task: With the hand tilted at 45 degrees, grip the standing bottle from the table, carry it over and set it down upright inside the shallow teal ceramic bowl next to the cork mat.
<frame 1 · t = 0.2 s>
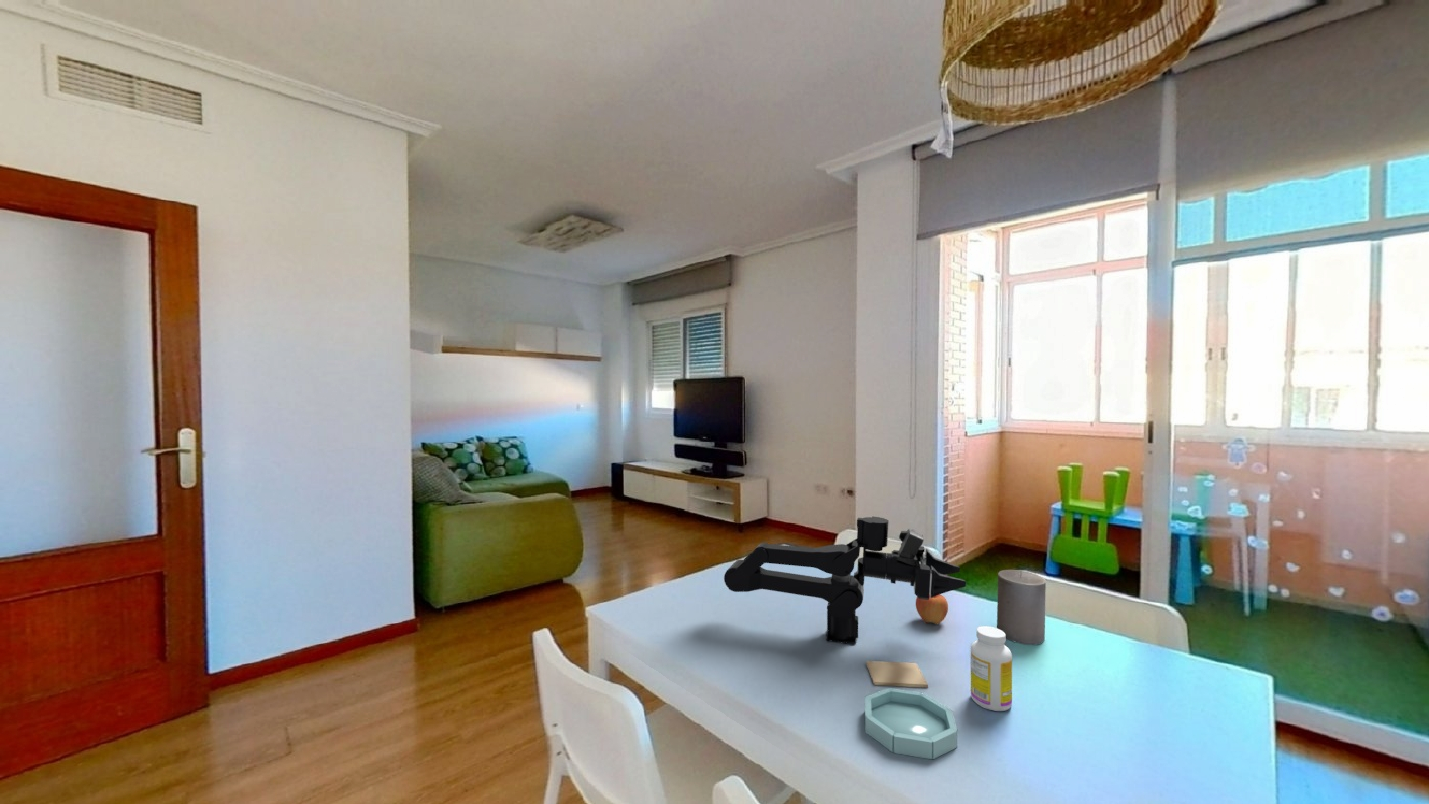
hand: (962, 576, 113), 17 cm above the table, tool horizontal, fingers open, 9 cm apart
apple: (931, 623, 129), on the table
cork mat: (895, 675, 105), on the table
supplement bottle: (990, 703, 96), on the table
bowl: (908, 728, 88), on the table
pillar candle: (1020, 636, 122), on the table
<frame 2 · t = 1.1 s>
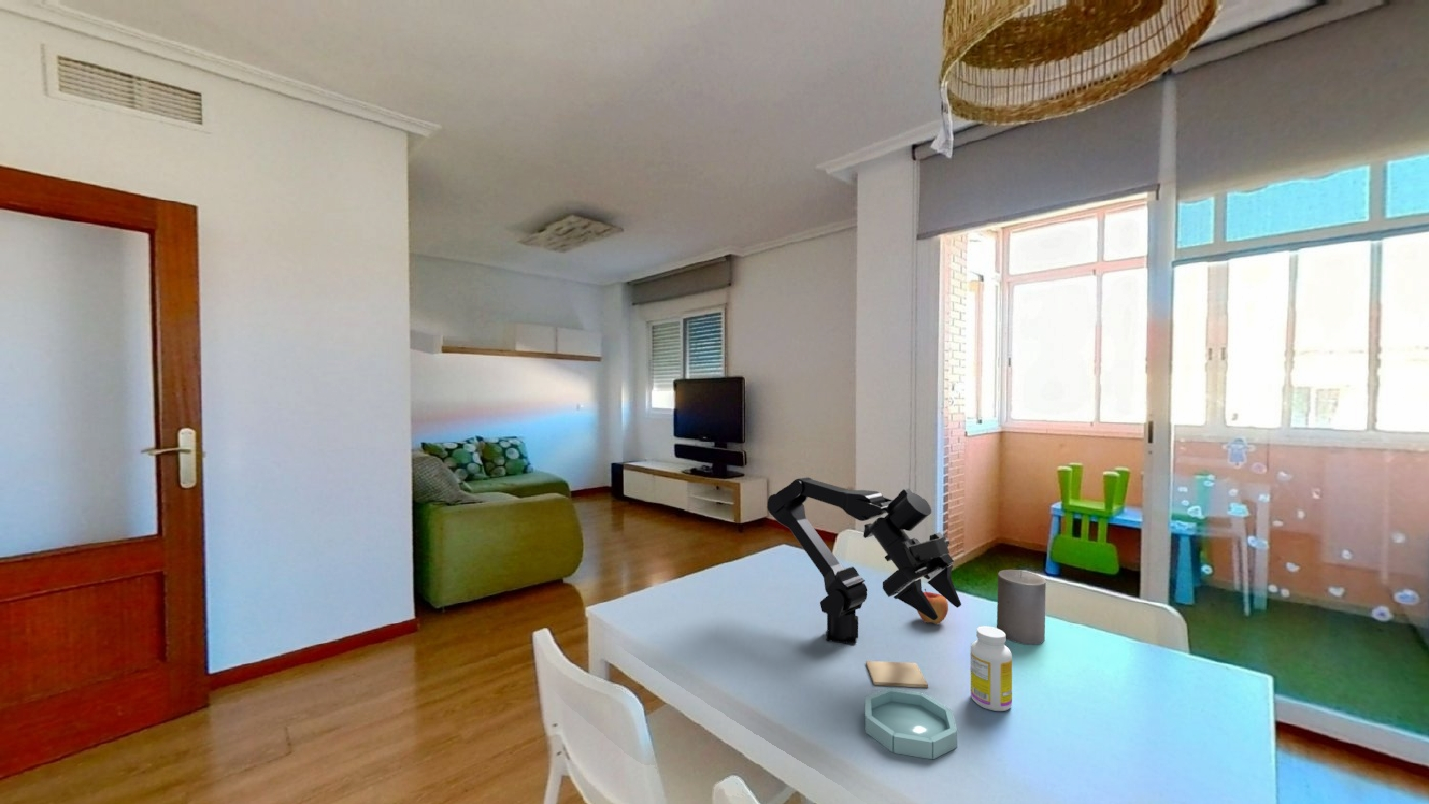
hand: (948, 612, 102), 14 cm above the table, tool tilted 45°, fingers open, 9 cm apart
nothing on the table moved.
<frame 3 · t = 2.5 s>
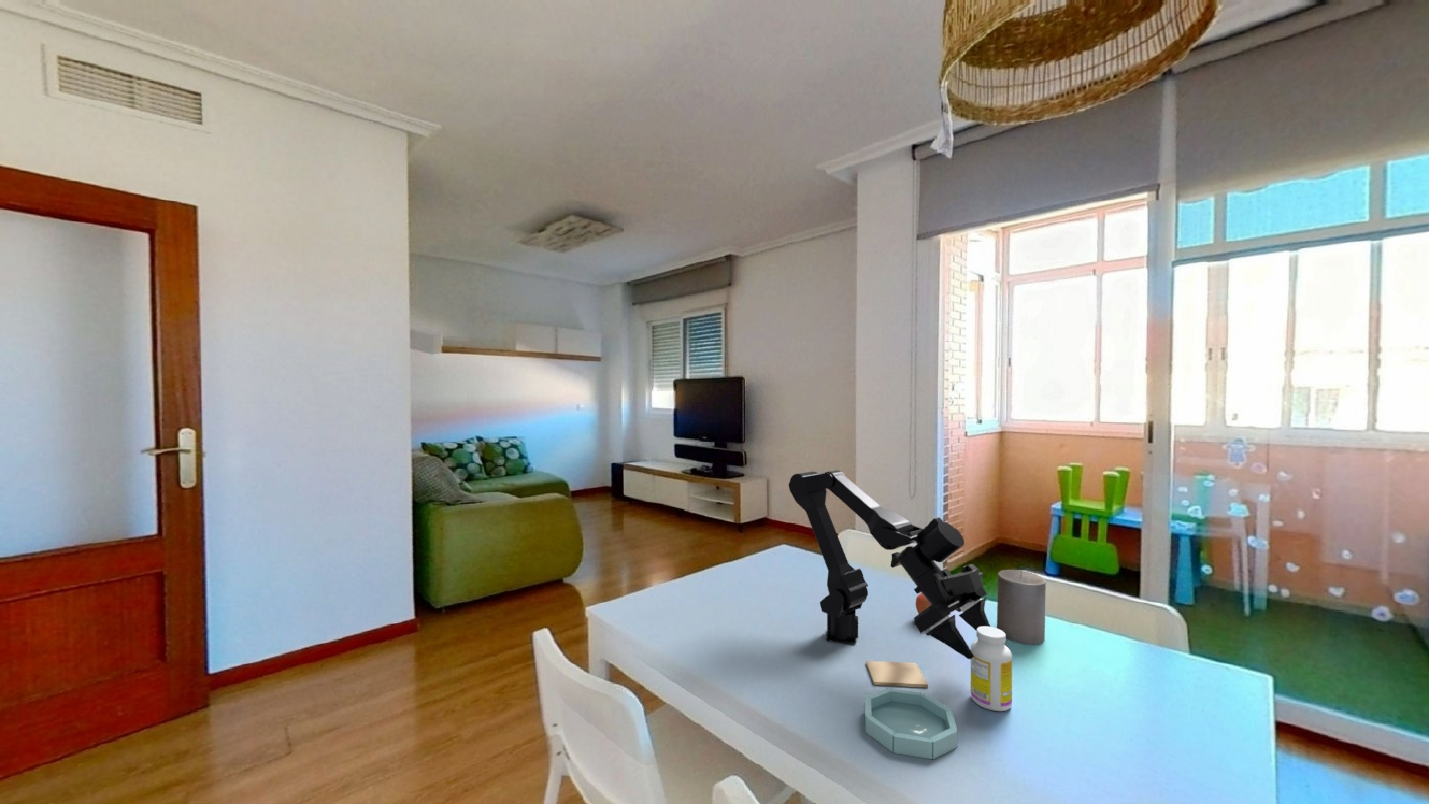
hand: (983, 650, 97), 9 cm above the table, tool tilted 45°, fingers open, 9 cm apart
nothing on the table moved.
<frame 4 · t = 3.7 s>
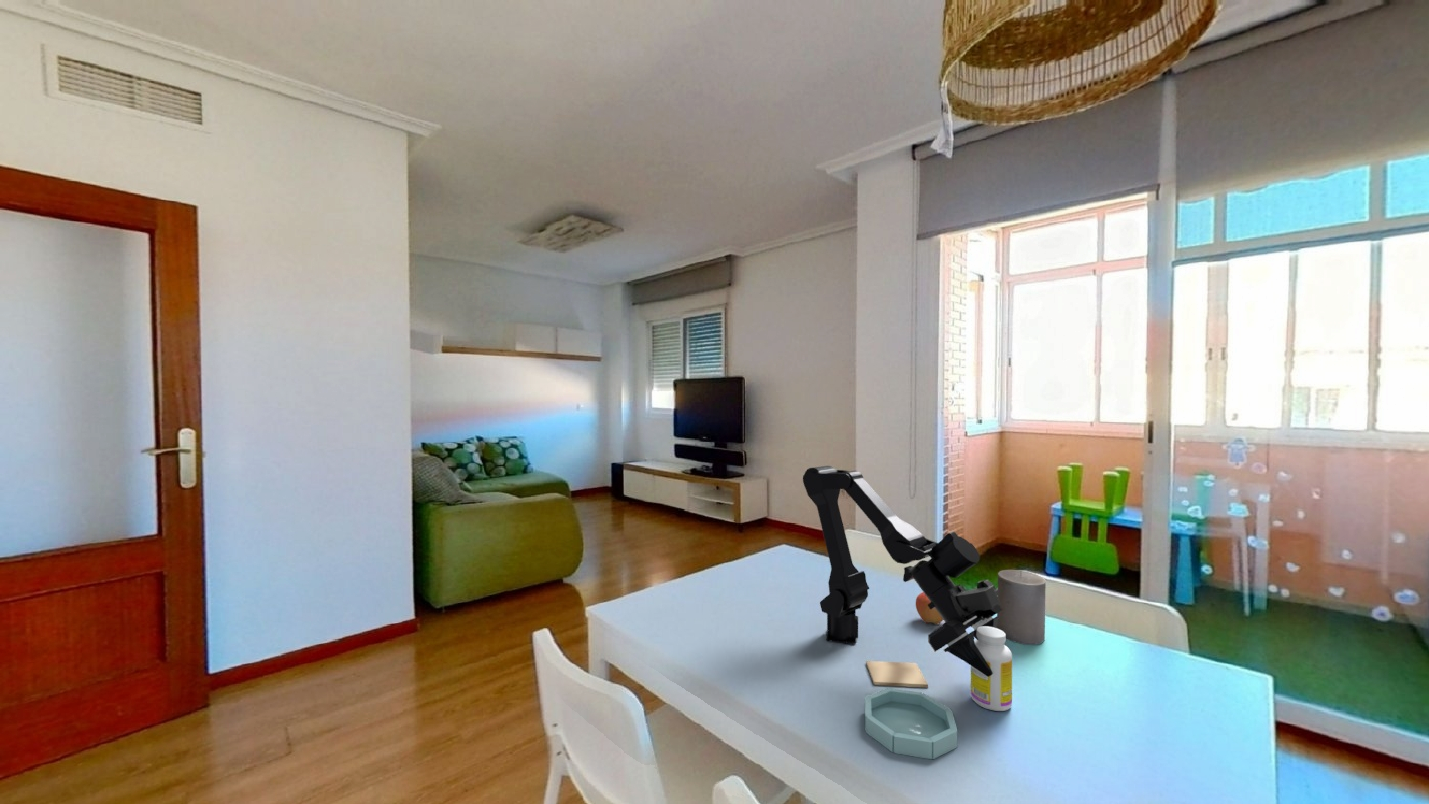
hand: (999, 668, 94), 7 cm above the table, tool tilted 45°, fingers closed on supplement bottle, 7 cm apart
supplement bottle: (990, 703, 96), on the table, touching gripper
everything else where it was.
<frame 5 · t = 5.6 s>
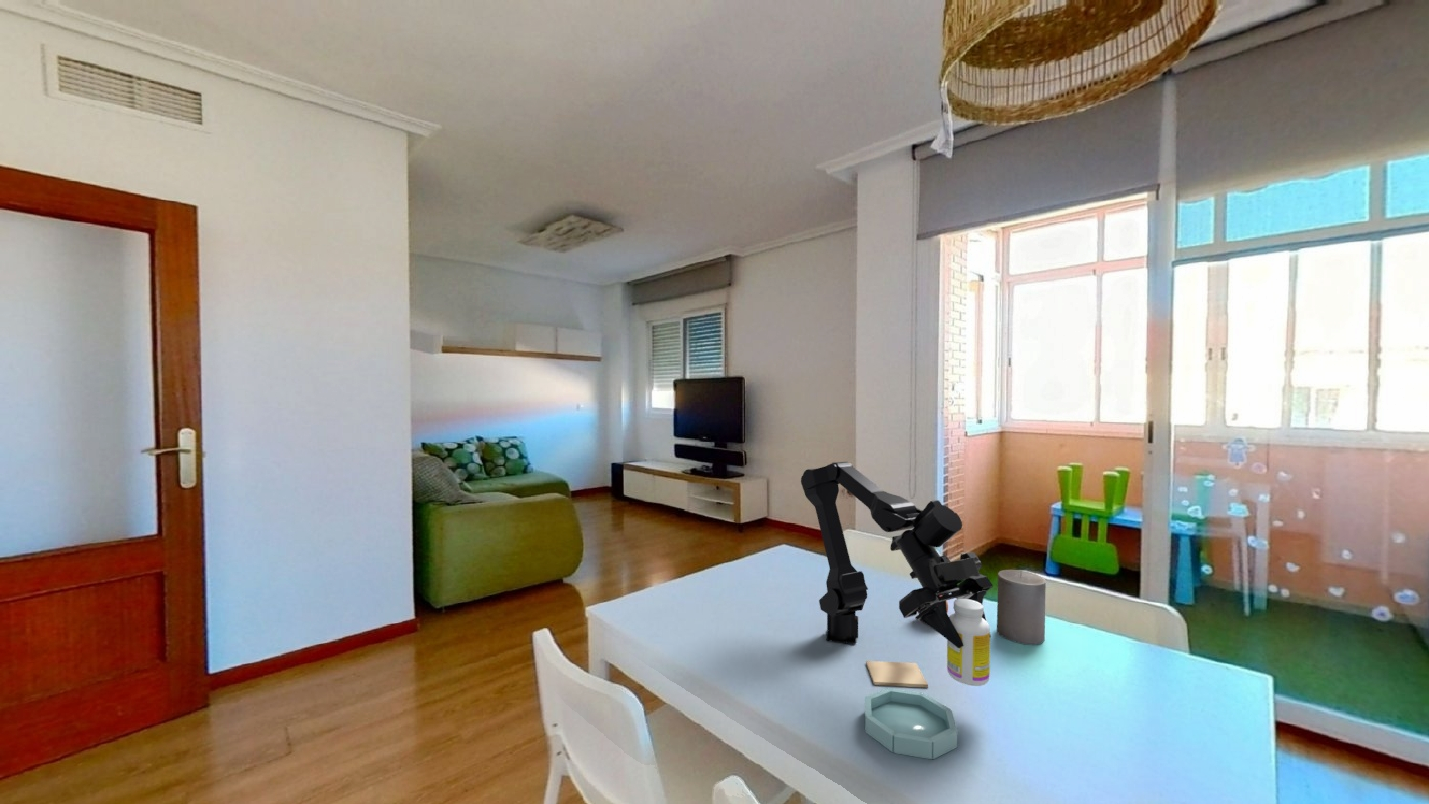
hand: (975, 642, 90), 13 cm above the table, tool tilted 45°, fingers closed on supplement bottle, 7 cm apart
supplement bottle: (967, 678, 92), point 6 cm above the table, touching gripper
everything else where it was.
when the fingers open (9 cm above the table, at t = 7.6 s): supplement bottle drops 1 cm, resting on bowl.
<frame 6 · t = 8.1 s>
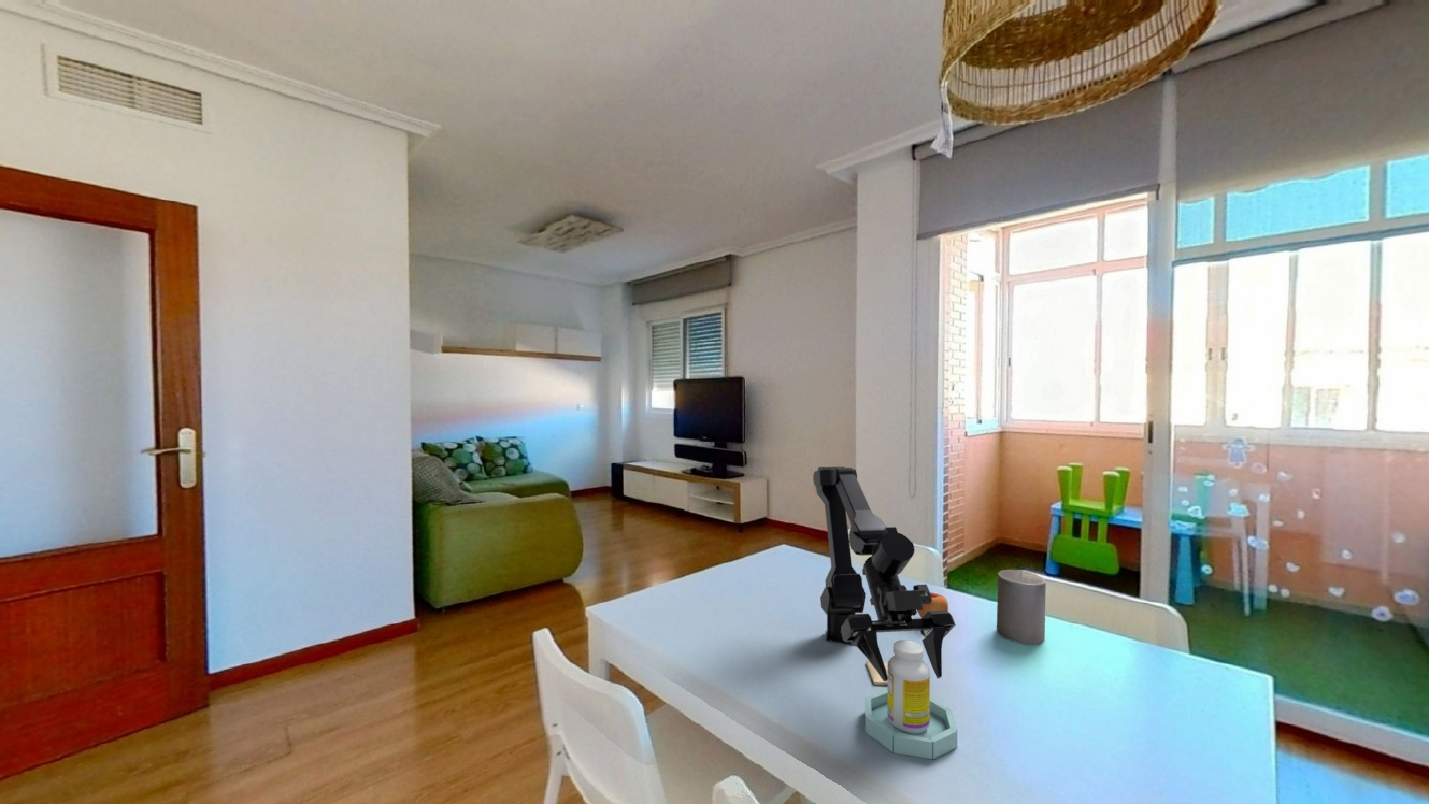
hand: (913, 678, 87), 9 cm above the table, tool tilted 45°, fingers open, 9 cm apart
supplement bottle: (908, 724, 88), point 1 cm above the table, touching bowl
everything else where it was.
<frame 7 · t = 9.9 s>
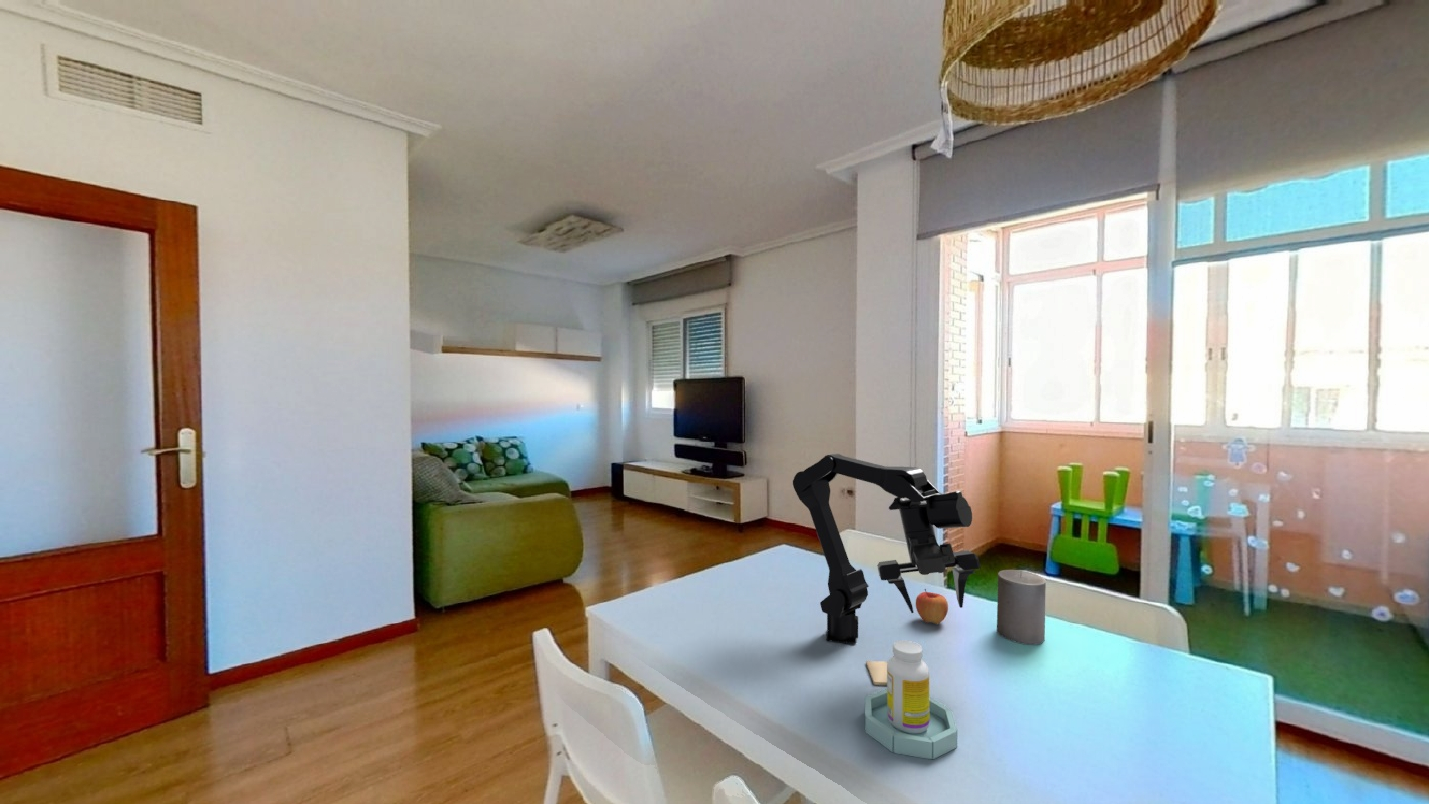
hand: (936, 609, 104), 13 cm above the table, tool pointing down, fingers open, 9 cm apart
nothing on the table moved.
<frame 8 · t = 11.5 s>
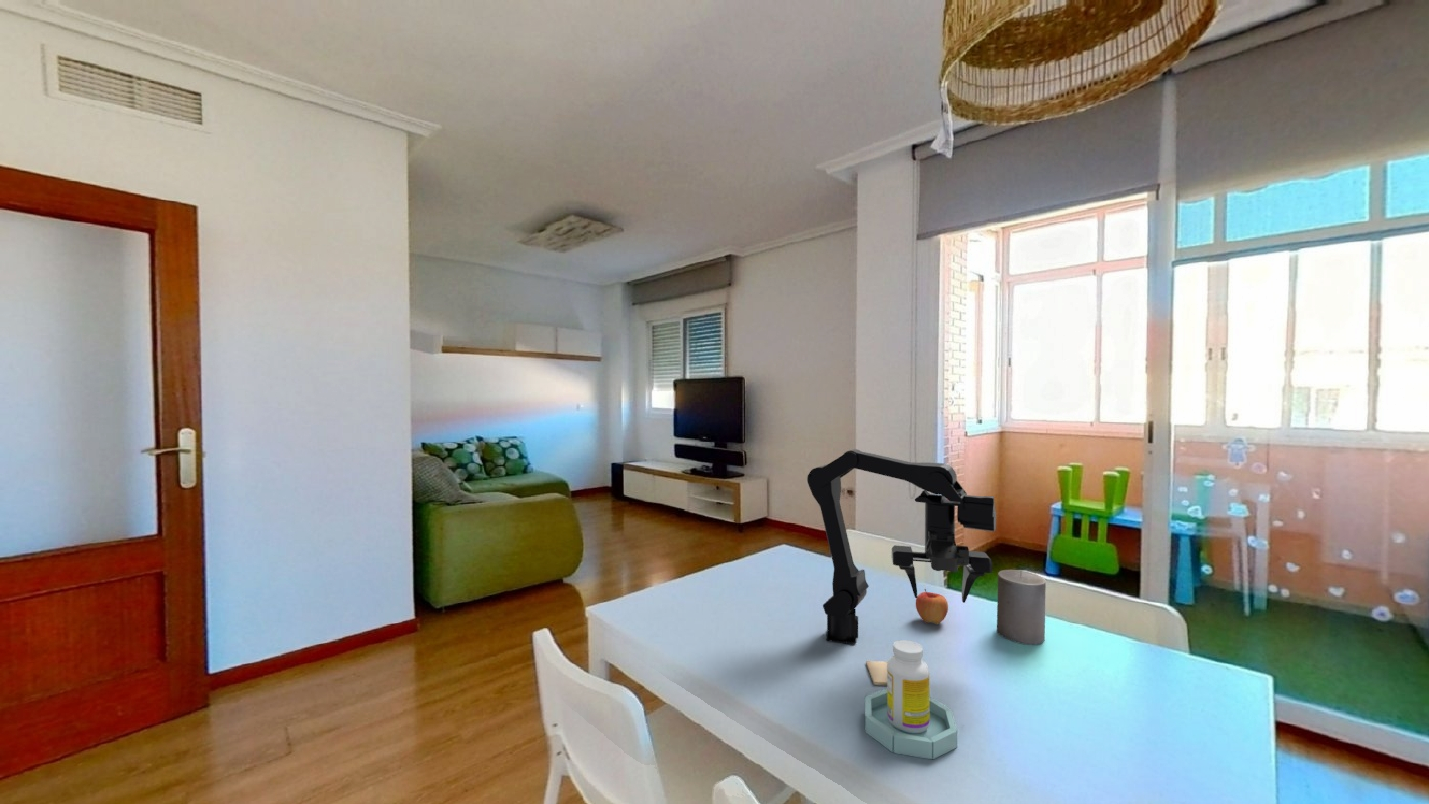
hand: (939, 599, 110), 13 cm above the table, tool pointing down, fingers open, 9 cm apart
nothing on the table moved.
at the end: supplement bottle 0.2 cm from the bowl (horizontally); supplement bottle tilted 1°; supplement bottle point 0.6 cm above the table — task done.
